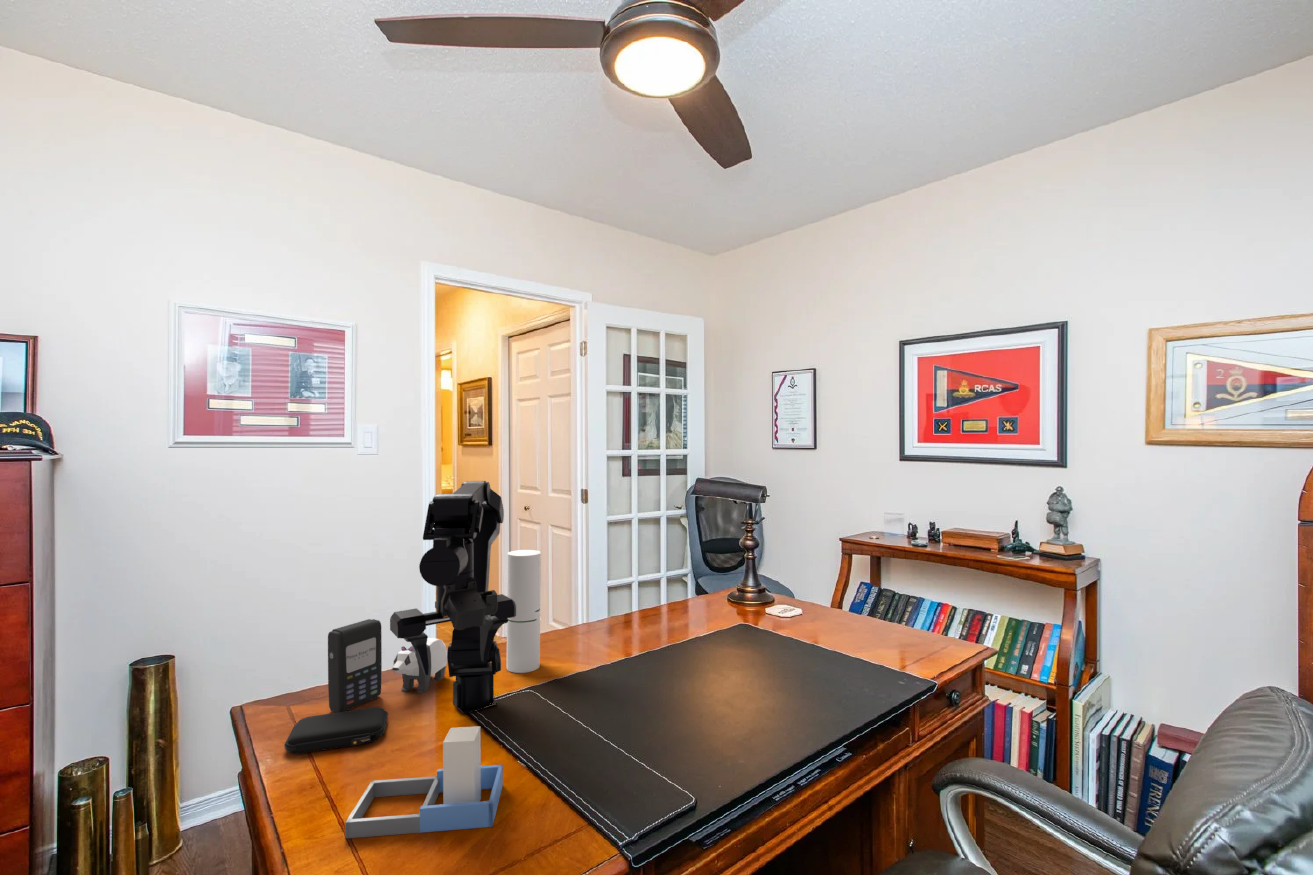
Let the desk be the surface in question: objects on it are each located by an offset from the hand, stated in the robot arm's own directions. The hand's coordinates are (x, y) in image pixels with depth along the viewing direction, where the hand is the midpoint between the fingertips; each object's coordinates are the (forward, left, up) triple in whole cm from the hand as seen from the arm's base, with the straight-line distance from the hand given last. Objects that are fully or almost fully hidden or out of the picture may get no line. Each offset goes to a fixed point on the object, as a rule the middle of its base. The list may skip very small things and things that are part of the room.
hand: (455, 667), depth 96 cm
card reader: (+10, -28, -13) cm, 33 cm away
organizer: (+8, +14, -13) cm, 21 cm away
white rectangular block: (+4, +16, -13) cm, 21 cm away
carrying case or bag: (+15, -16, -14) cm, 25 cm away
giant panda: (-2, -29, -13) cm, 32 cm away
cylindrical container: (-23, -26, -13) cm, 37 cm away
